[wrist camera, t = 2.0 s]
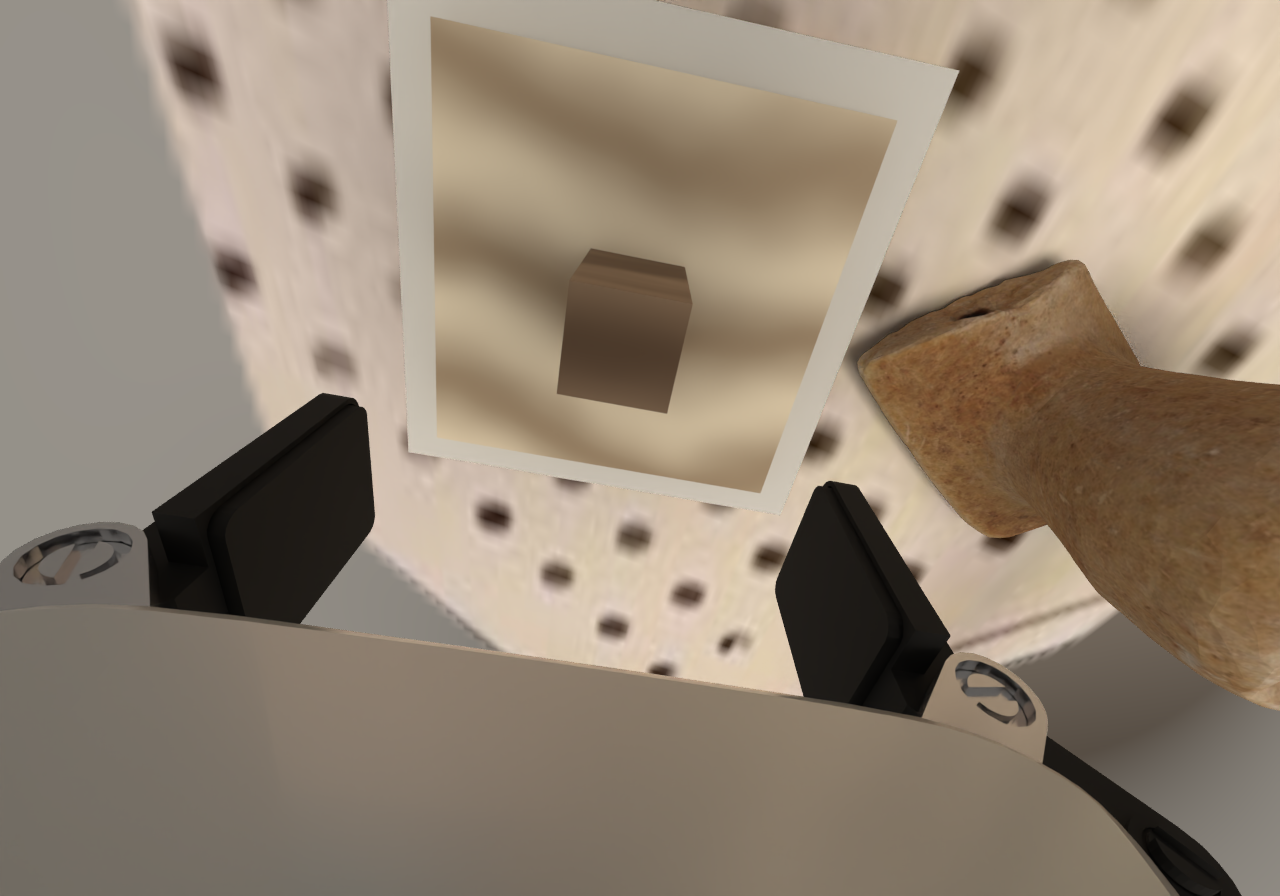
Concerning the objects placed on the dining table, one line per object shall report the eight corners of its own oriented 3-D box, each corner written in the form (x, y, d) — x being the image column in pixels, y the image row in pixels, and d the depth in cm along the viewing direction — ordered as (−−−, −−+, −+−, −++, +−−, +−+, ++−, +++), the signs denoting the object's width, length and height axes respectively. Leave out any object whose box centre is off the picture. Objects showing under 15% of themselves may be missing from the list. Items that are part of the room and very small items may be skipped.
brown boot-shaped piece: (1191, 428, 27) (1688, 690, 14) (965, 539, 31) (1187, 822, 18) (1097, 173, 21) (1779, 215, 8) (837, 350, 25) (1024, 561, 12)
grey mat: (391, -57, 18) (384, -63, 18) (951, 72, 20) (959, 70, 19) (413, 446, 29) (408, 452, 28) (778, 508, 30) (780, 515, 30)
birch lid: (442, 23, 19) (337, -37, 13) (885, 121, 20) (986, 110, 14) (445, 426, 28) (382, 508, 21) (756, 480, 29) (784, 573, 22)
